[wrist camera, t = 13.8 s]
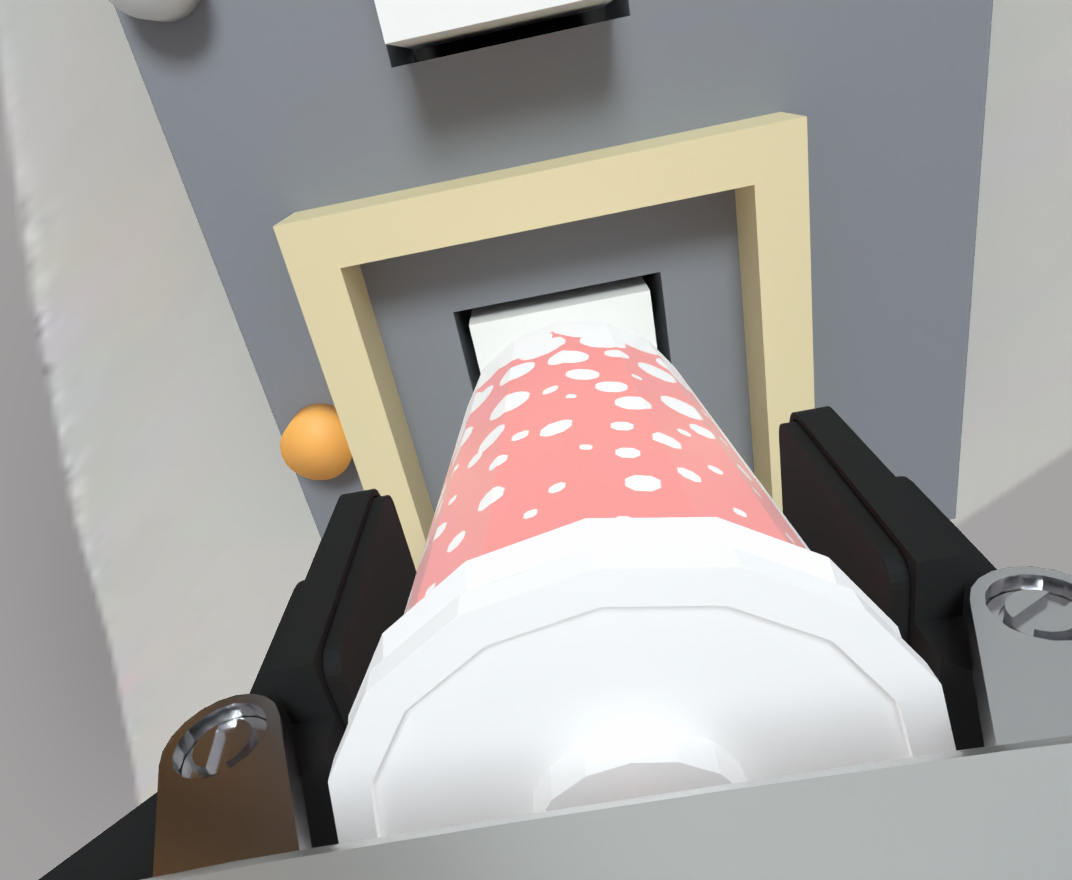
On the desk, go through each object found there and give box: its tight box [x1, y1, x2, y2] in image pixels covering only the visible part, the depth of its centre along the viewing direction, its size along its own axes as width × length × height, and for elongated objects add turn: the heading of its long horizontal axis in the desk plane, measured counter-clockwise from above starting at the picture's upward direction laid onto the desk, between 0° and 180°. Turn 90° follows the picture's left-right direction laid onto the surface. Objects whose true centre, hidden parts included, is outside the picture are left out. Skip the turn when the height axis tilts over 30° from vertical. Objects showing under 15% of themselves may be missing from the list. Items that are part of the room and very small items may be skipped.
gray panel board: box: [109, 0, 993, 572], centre depth 17 cm, size 16×19×6 cm
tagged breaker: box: [469, 276, 657, 373], centre depth 19 cm, size 4×4×4 cm
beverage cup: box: [328, 321, 956, 844], centre depth 9 cm, size 6×6×14 cm
